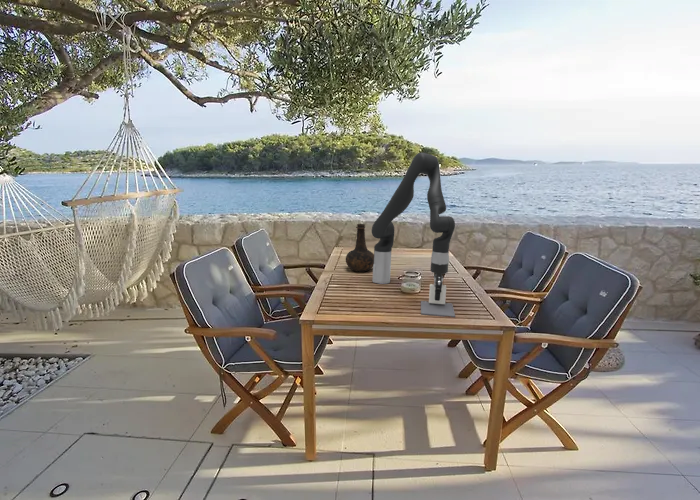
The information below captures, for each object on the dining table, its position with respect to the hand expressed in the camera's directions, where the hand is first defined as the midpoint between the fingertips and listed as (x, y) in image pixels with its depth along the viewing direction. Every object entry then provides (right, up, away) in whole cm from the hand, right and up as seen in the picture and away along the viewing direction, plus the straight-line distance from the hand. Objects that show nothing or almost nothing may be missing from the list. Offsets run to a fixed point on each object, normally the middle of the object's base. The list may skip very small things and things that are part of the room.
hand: (437, 298), depth 174 cm
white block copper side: (0, -2, 0) cm, 2 cm away
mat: (-1, -4, -4) cm, 6 cm away
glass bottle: (-33, +10, +60) cm, 69 cm away
